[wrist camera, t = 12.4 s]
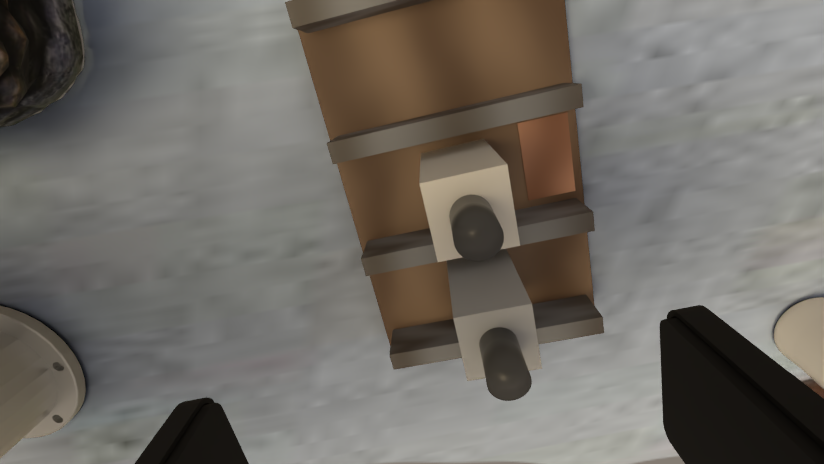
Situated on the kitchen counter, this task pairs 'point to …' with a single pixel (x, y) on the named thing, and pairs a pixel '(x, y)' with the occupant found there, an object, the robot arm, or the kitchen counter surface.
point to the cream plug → (468, 201)
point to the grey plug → (494, 324)
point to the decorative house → (37, 55)
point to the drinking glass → (803, 337)
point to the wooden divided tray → (447, 126)
